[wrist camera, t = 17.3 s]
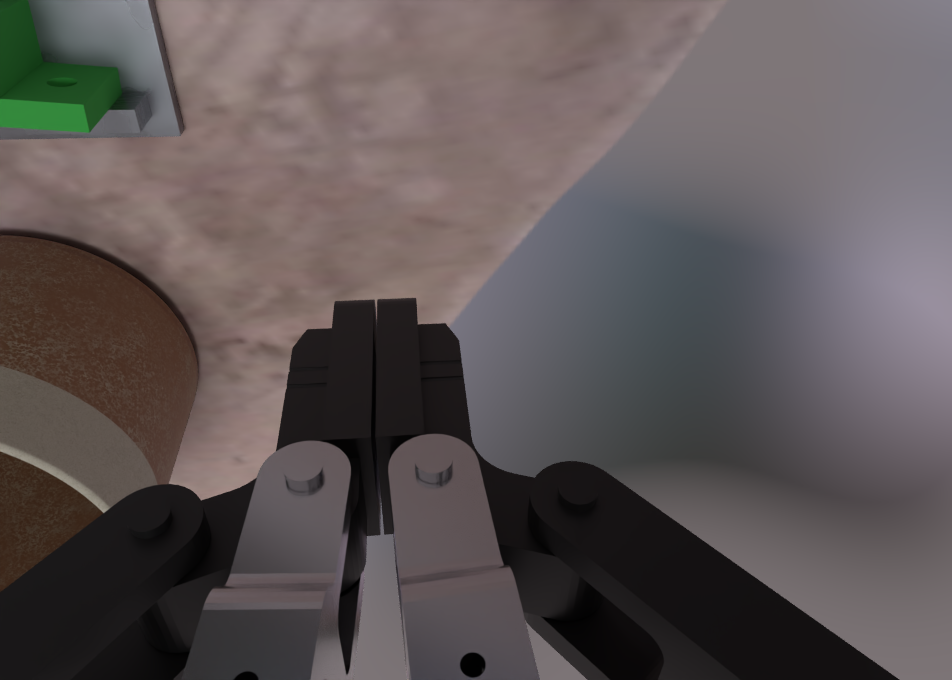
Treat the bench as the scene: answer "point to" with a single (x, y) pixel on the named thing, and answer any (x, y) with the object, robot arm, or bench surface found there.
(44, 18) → the steel channel
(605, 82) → the bench surface
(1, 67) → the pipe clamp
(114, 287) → the planter
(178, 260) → the bench surface
